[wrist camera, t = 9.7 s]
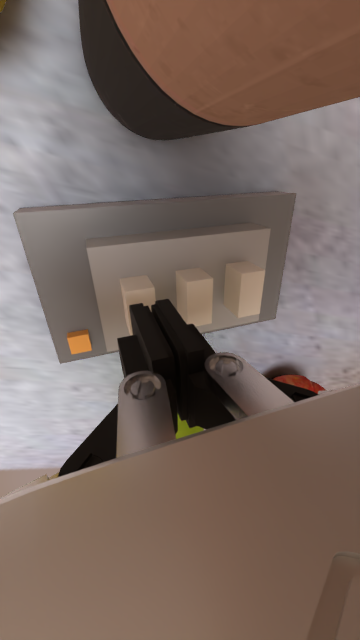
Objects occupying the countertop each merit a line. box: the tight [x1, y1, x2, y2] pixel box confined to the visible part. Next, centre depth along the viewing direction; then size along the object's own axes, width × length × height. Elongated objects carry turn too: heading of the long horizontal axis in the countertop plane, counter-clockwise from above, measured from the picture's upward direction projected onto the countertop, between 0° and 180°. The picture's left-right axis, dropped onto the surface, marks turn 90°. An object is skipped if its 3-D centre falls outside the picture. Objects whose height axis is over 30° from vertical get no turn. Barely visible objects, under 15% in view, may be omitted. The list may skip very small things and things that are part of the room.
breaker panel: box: [13, 191, 296, 364], centre depth 16 cm, size 16×9×6 cm, turn 92°
